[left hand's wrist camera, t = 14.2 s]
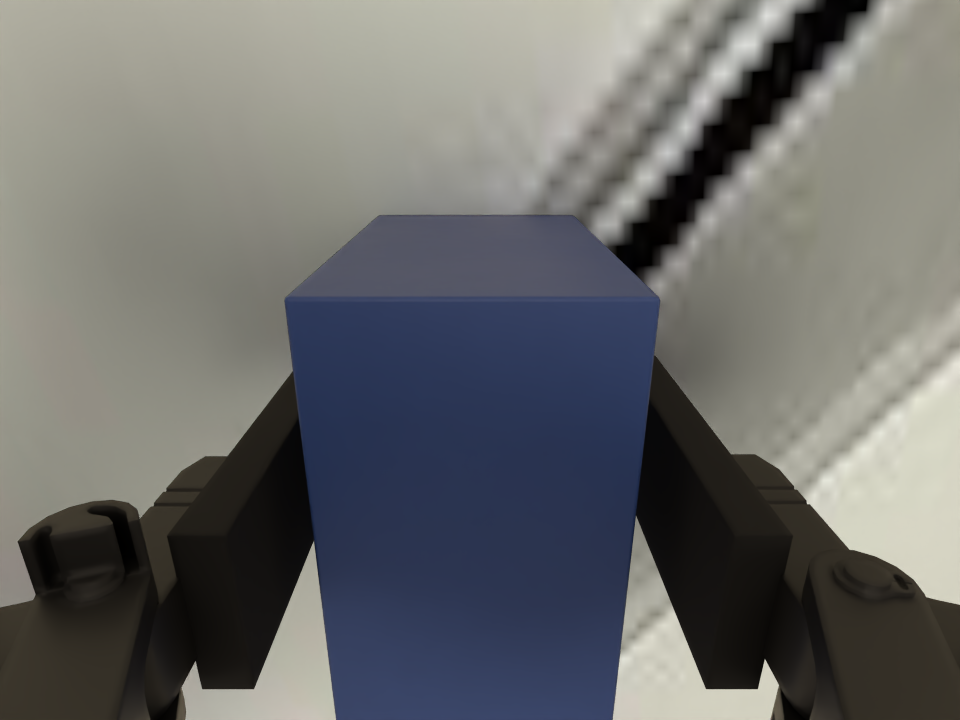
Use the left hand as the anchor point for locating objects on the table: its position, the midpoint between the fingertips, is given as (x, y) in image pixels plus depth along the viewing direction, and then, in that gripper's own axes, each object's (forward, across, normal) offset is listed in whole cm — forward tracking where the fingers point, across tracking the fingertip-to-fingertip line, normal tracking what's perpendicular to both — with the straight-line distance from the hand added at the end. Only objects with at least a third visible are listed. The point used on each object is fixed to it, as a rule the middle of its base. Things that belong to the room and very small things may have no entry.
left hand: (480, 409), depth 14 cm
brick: (+3, 0, 0) cm, 3 cm away
